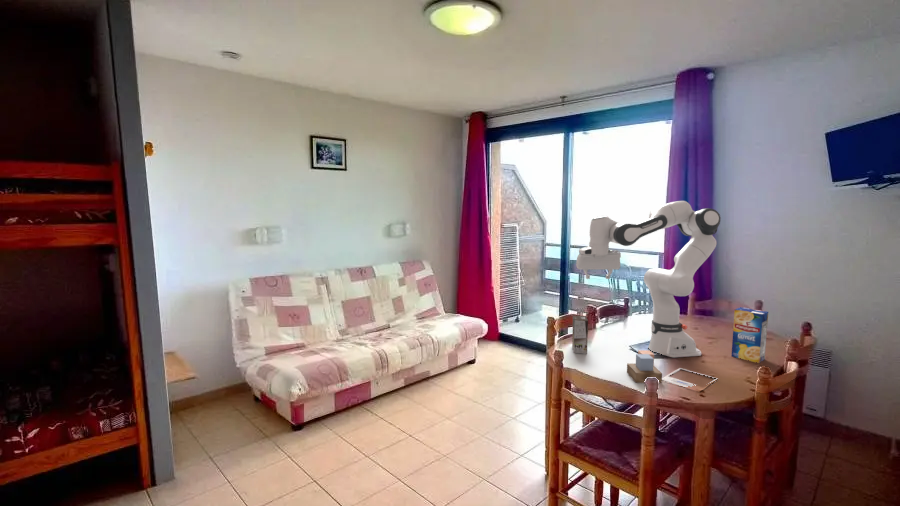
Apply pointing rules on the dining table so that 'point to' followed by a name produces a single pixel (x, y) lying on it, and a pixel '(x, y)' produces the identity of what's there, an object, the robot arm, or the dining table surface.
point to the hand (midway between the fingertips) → (597, 278)
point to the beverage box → (749, 334)
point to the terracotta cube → (646, 353)
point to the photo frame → (680, 382)
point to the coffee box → (580, 334)
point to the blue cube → (644, 362)
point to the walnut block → (642, 373)
